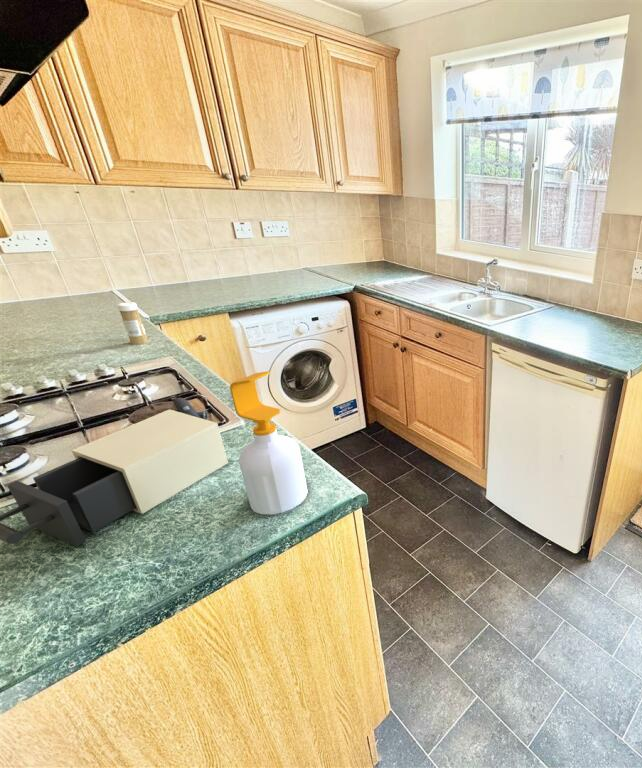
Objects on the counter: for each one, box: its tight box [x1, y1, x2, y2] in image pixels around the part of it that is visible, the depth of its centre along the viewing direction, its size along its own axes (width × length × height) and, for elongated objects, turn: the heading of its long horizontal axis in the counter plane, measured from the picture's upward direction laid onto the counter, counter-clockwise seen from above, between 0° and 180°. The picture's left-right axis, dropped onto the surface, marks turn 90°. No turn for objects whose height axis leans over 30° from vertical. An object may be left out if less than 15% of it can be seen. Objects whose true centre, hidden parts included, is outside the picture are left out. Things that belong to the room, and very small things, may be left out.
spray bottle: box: [229, 370, 308, 516], centre depth 70 cm, size 9×9×25 cm
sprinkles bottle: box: [116, 301, 149, 346], centre depth 133 cm, size 5×5×14 cm
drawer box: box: [71, 409, 229, 515], centre depth 76 cm, size 16×13×10 cm
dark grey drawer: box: [0, 457, 137, 548], centre depth 66 cm, size 20×11×8 cm, turn 161°
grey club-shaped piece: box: [173, 397, 210, 420], centre depth 94 cm, size 18×7×6 cm, turn 43°
